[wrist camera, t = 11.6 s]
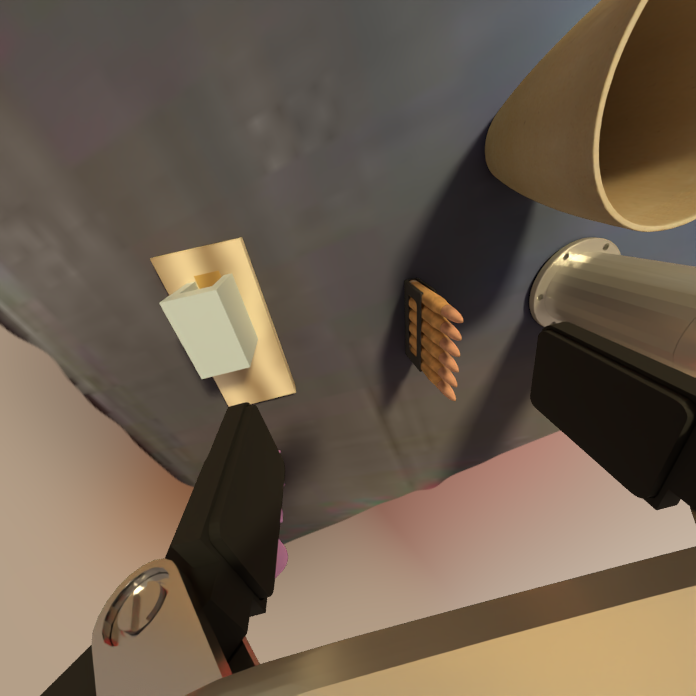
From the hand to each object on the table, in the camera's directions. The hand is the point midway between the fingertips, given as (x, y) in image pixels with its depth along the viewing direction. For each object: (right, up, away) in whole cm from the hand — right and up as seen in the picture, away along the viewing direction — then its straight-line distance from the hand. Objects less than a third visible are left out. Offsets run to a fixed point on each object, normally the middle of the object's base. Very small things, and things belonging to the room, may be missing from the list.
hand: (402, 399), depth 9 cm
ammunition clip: (+7, +6, +27) cm, 29 cm away
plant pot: (+16, +23, +20) cm, 35 cm away
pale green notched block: (-16, +6, +22) cm, 27 cm away
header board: (-15, +4, +24) cm, 29 cm away
